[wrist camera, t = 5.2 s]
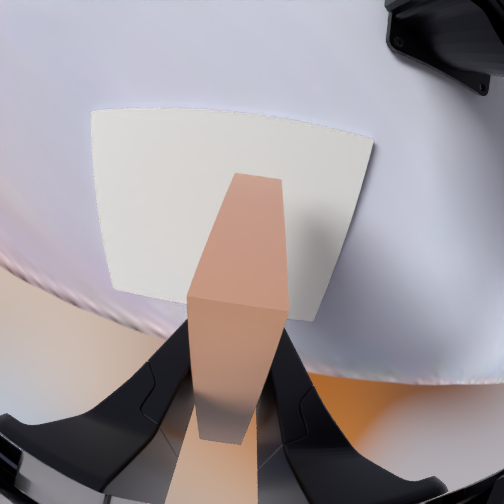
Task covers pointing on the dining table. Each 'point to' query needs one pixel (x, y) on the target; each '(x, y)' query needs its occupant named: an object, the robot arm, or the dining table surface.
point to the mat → (218, 193)
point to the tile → (238, 306)
